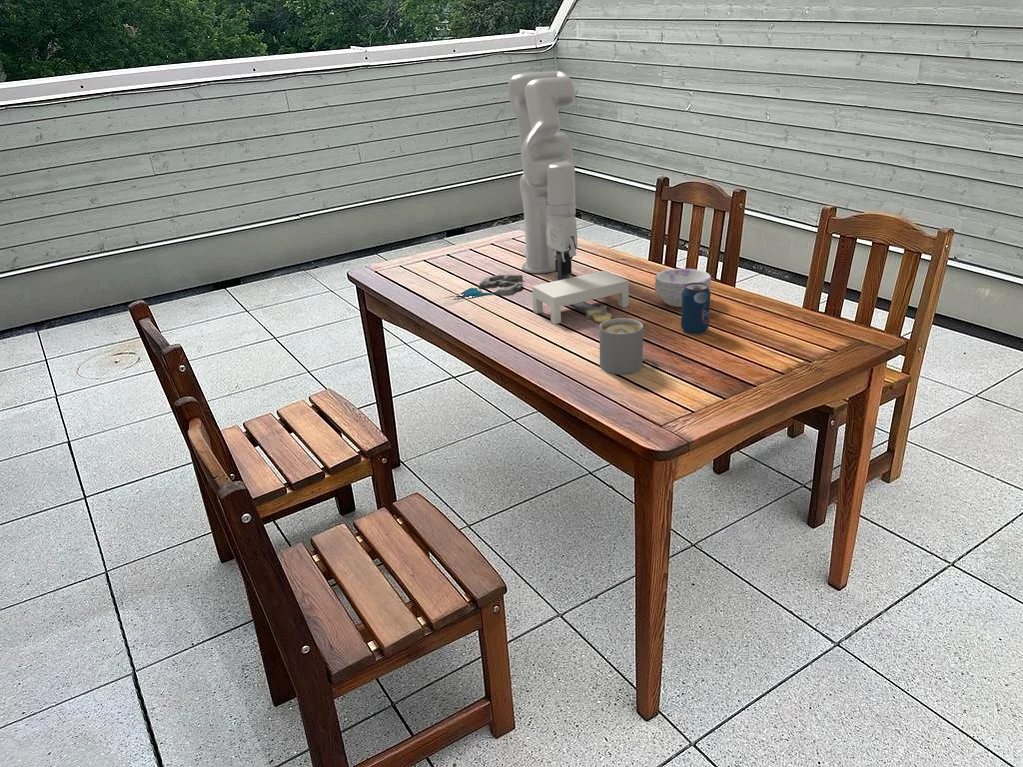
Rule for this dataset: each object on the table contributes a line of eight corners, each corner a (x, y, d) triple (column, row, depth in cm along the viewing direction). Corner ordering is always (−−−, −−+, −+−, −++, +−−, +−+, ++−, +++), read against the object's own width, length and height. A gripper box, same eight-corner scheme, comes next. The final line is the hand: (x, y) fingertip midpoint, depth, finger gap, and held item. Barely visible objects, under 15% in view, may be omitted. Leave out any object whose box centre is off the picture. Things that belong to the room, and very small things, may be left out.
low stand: (533, 311, 218) (532, 286, 215) (604, 294, 227) (604, 270, 224) (554, 324, 208) (553, 297, 205) (628, 306, 217) (628, 280, 214)
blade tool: (553, 300, 225) (551, 254, 219) (571, 296, 227) (570, 250, 221) (587, 319, 210) (587, 269, 203) (606, 314, 212) (606, 265, 206)
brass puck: (589, 320, 210) (589, 314, 209) (605, 316, 212) (605, 311, 211) (598, 325, 206) (598, 320, 205) (615, 322, 208) (615, 316, 207)
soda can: (709, 336, 194) (711, 290, 189) (680, 335, 196) (682, 290, 191) (707, 326, 200) (710, 281, 195) (680, 325, 202) (682, 281, 197)
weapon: (537, 288, 237) (515, 276, 249) (537, 282, 236) (514, 270, 248) (434, 315, 223) (415, 300, 236) (433, 309, 223) (414, 295, 235)
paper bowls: (686, 290, 227) (687, 263, 224) (721, 304, 215) (722, 276, 211) (643, 300, 221) (644, 273, 218) (676, 315, 209) (677, 287, 205)
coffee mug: (622, 378, 175) (622, 337, 171) (591, 366, 182) (590, 326, 178) (661, 360, 182) (662, 321, 178) (629, 349, 190) (629, 311, 185)
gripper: (535, 206, 219) (538, 268, 226) (564, 216, 206) (566, 282, 213) (558, 202, 221) (560, 264, 229) (588, 212, 208) (589, 277, 216)
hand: (563, 272), depth 221 cm, fingers closed on blade tool
